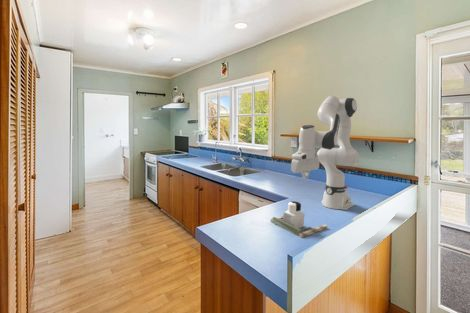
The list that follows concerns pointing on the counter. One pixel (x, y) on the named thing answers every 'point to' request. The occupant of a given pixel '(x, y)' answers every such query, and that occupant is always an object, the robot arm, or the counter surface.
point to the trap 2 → (306, 229)
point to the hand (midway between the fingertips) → (305, 178)
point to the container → (294, 215)
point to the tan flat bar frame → (294, 229)
